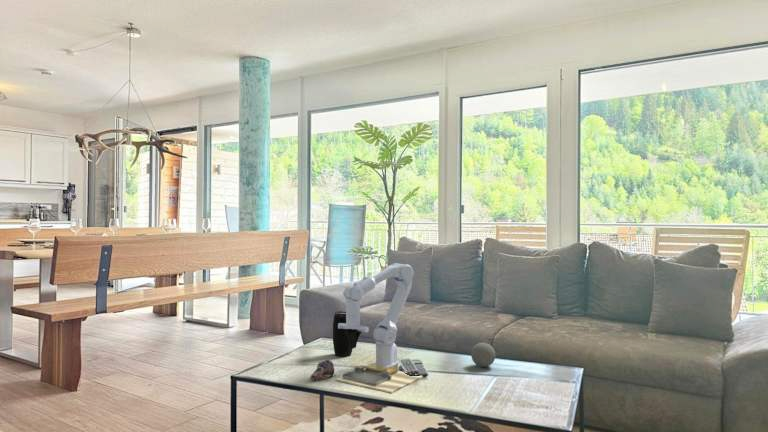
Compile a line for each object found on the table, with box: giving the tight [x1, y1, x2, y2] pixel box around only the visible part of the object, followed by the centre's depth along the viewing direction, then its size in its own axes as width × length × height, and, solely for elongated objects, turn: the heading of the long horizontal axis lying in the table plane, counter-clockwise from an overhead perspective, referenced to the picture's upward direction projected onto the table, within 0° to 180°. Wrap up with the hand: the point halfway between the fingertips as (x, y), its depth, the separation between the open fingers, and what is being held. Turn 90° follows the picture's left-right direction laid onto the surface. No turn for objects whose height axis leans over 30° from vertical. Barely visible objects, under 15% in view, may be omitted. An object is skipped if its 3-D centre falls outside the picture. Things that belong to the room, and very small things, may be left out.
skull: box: [310, 359, 335, 382], centre depth 205 cm, size 12×8×6 cm, turn 144°
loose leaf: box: [364, 364, 399, 375], centre depth 209 cm, size 8×12×3 cm
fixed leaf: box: [341, 366, 392, 386], centre depth 201 cm, size 10×17×2 cm, turn 56°
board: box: [335, 366, 424, 394], centre depth 203 cm, size 22×26×1 cm
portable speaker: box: [332, 310, 353, 358], centre depth 239 cm, size 9×9×20 cm
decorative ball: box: [470, 342, 496, 368], centre depth 219 cm, size 10×10×10 cm
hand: (353, 347), depth 214 cm, fingers closed
